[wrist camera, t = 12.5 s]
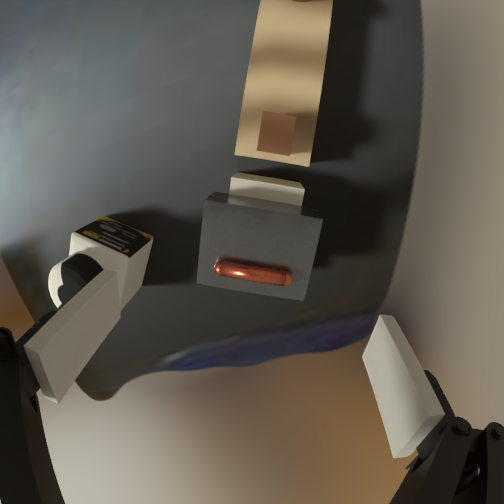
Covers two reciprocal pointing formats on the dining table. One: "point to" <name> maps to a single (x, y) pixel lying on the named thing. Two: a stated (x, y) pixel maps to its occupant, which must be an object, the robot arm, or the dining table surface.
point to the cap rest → (267, 188)
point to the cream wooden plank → (284, 80)
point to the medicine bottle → (102, 260)
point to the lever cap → (257, 245)
